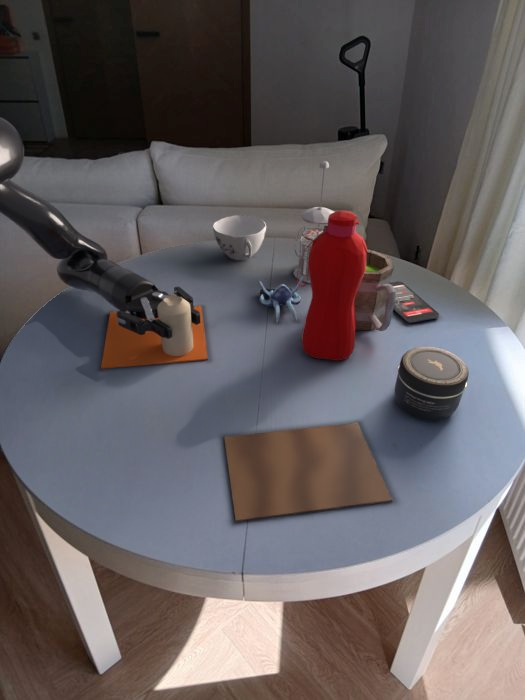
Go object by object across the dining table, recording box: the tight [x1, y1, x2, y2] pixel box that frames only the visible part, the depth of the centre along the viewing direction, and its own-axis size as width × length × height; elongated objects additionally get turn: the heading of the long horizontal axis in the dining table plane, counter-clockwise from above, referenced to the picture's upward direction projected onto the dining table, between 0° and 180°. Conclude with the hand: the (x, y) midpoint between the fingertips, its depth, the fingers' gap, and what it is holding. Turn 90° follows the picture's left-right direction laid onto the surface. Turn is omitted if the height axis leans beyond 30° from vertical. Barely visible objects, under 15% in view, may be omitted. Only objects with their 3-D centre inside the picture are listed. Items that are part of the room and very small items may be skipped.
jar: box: [394, 346, 470, 423], centre depth 75 cm, size 10×10×8 cm
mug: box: [354, 249, 396, 332], centre depth 93 cm, size 16×11×12 cm
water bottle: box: [296, 210, 368, 361], centre depth 82 cm, size 9×11×25 cm
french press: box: [293, 160, 335, 284], centre depth 105 cm, size 10×12×25 cm
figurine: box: [258, 277, 303, 324], centre depth 99 cm, size 10×12×8 cm
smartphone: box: [386, 281, 440, 324], centre depth 102 cm, size 7×1×15 cm
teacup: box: [212, 214, 267, 261], centre depth 117 cm, size 15×12×8 cm
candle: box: [157, 295, 193, 356], centre depth 85 cm, size 6×6×10 cm
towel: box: [100, 305, 208, 370], centre depth 92 cm, size 18×18×1 cm
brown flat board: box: [223, 422, 393, 522], centre depth 66 cm, size 20×14×1 cm
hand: (184, 326), depth 83 cm, fingers closed on candle, 5 cm apart
